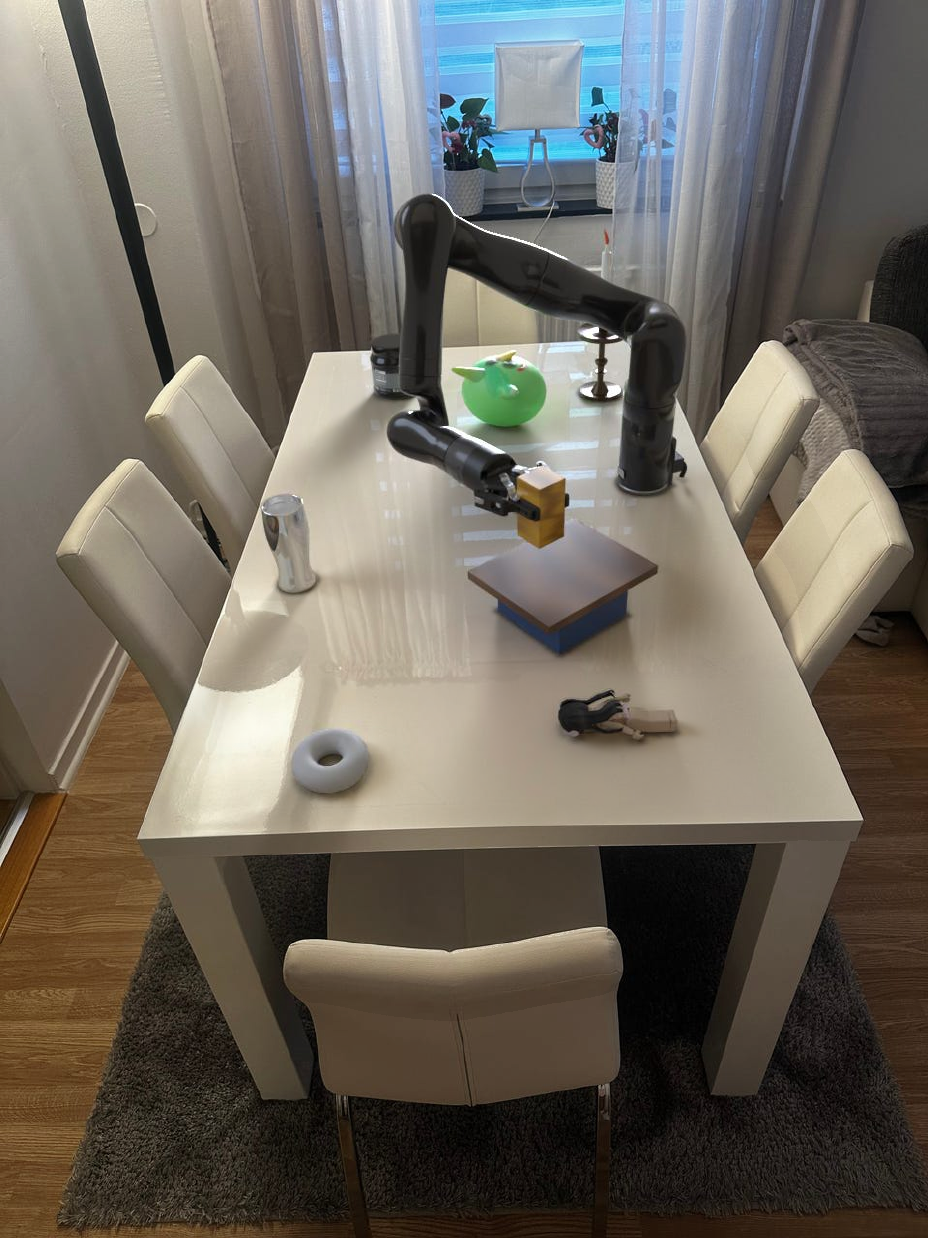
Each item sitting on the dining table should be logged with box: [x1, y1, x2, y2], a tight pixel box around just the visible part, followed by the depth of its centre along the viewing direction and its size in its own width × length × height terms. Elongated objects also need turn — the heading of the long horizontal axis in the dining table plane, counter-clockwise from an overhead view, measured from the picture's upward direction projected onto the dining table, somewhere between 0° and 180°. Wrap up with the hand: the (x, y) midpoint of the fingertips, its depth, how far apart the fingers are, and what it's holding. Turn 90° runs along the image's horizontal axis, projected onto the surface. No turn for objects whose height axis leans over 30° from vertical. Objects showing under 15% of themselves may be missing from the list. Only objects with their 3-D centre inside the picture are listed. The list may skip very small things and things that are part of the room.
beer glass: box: [260, 493, 316, 594], centre depth 143 cm, size 7×7×15 cm
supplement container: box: [369, 333, 412, 400], centre depth 202 cm, size 10×10×12 cm
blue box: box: [497, 590, 629, 655], centre depth 136 cm, size 14×14×7 cm
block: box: [516, 466, 567, 549], centre depth 130 cm, size 5×5×10 cm
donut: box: [290, 728, 370, 794], centre depth 114 cm, size 10×4×10 cm
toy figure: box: [557, 687, 678, 740], centre depth 116 cm, size 7×6×15 cm
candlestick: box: [576, 229, 624, 403], centre depth 189 cm, size 11×11×35 cm
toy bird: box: [450, 350, 547, 427], centre depth 186 cm, size 18×17×15 cm
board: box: [467, 518, 659, 635], centre depth 133 cm, size 22×18×2 cm
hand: (553, 508), depth 128 cm, fingers closed on block, 5 cm apart
